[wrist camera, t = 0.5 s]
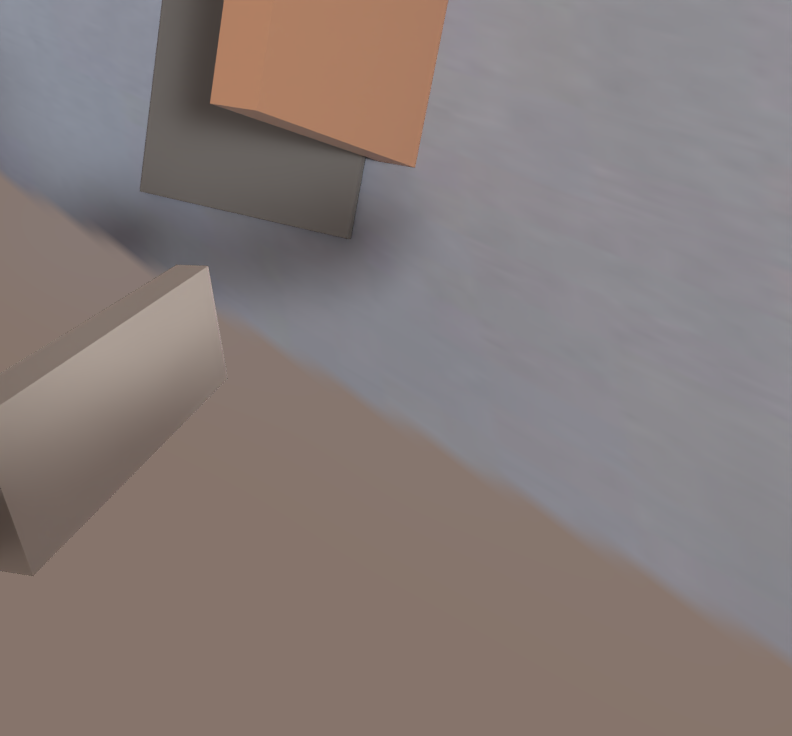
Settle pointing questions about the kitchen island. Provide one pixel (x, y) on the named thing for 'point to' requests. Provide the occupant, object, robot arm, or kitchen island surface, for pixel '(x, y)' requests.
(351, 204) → the mat
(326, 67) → the tile
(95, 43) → the kitchen island surface
